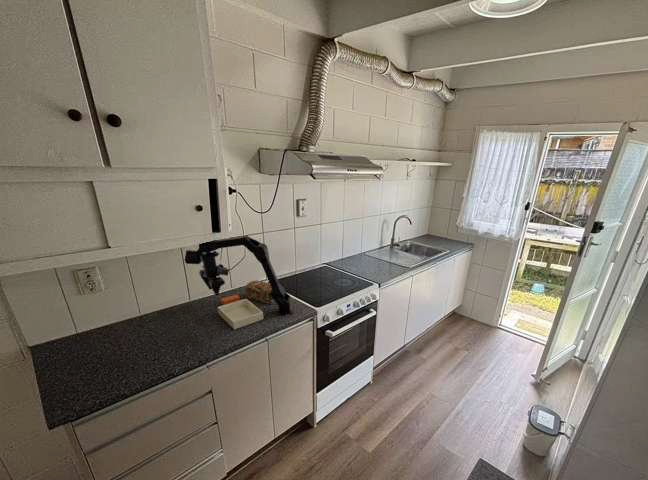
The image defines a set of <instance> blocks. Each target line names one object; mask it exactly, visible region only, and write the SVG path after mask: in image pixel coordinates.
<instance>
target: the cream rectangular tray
mask: <svg viewBox="0 0 648 480" xmlns="http://www.w3.org/2000/svg"><path fill="white" fill-rule="evenodd" d="M217 313H218V315H219V316H220V317H221V318H222V319H223V320H224V321H225V322H226V323H227V324H228V325H229V326H230V327H231V328H232V329H233V330H236V329H240V328H242V327H245V326H248V325H250V324H253V323H256V322H259V321H262V320H264V312H263V311H262V310H261V309H260V308H259V307H257V306H256V305H255V304H254V303H252V302H251V301H250V300H249V299H248V298H244V299H240V301H237V302H233V303H230V304H226V305H220V306H217Z"/></svg>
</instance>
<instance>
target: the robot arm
mask: <svg viewBox="0 0 648 480" xmlns="http://www.w3.org/2000/svg"><path fill="white" fill-rule="evenodd" d="M218 239H219V240H213V241H210V242H206V243H202V244H200V243H199V244H198V248H197V250H191V249H187V250H186V251H185V255H184V262H185V264H187V265H201V263H202V264H203V265H202V269H200V270H199V271H198V273H199V276H200V278H201V279H202V281H203V282H204V284H205V285H206V287H207V288H208V289H209V290H212V292H213V293H214V295H215V296H216V297H217V296H219V295H220V291H221V287H222V286H224V285H225V284H226V280H225V279H224V278H222V277H221V276H226V277H227V276H229V272H230V269H229V268H227V267H226V266H224V264H221V263H218V265H217V261H216V258H217V257H218V256H220V253H219V252H218V251H216V250H219V249H223V248H231V247H238V246H239V247H240V246H243V247H245V248H246V249H247V250H248V251H249V252H250V253H252V255H254V257H255V258H256V259H255V260H257V261H258V262H259V263H260V264H261V266H262V269H263V271H264V273H265V276H266V278H267V280H268V283H270V285H271V287H272V288H271V291H270V295H271V296H272V300H273V299H274V301H275V303H276V304H277V306H278V310H277V311H276V313H277V314H279V315H280V316H281V317H284V316H287V315H291V314H293V311H292V310H291V306H290V304H291V303H290V299H291V295H290V294H289V293H287V292H286V290H285V288H284V286H282V284H281V283H280V282H279V279H278V277H277V275H276V271H275V269H274V268H273V265H272V263H271V260H270V253H269V248H268V246H267V244H265V243H263V242H260V241H258V240H257V239H255V238H252V237H250V236H249V235H243V236H236V237H235V236H234V237H228V238H227V237H226V238H218Z"/></svg>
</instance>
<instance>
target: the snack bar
mask: <svg viewBox="0 0 648 480" xmlns="http://www.w3.org/2000/svg"><path fill="white" fill-rule="evenodd" d="M240 297H241V296H240V295H238V294H234V295H229V296H227V297H223V298H220V303H221V306H223V305H226V304H230V303H233V302H237V301H240V300H241V298H240Z"/></svg>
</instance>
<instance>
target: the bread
mask: <svg viewBox="0 0 648 480" xmlns="http://www.w3.org/2000/svg"><path fill="white" fill-rule="evenodd" d="M271 288H272V287H271V285H270V283H269V282H266V281H261V280H251V281H249V282H248V283H247V284H246V285H245V289H244V291H245V296H246V299H249V300H253V301H257V302H261V303H264V304H269V305H273V304H276V302H275V301H274V299H273V300H272V296H271V295H270V291H271Z"/></svg>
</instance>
